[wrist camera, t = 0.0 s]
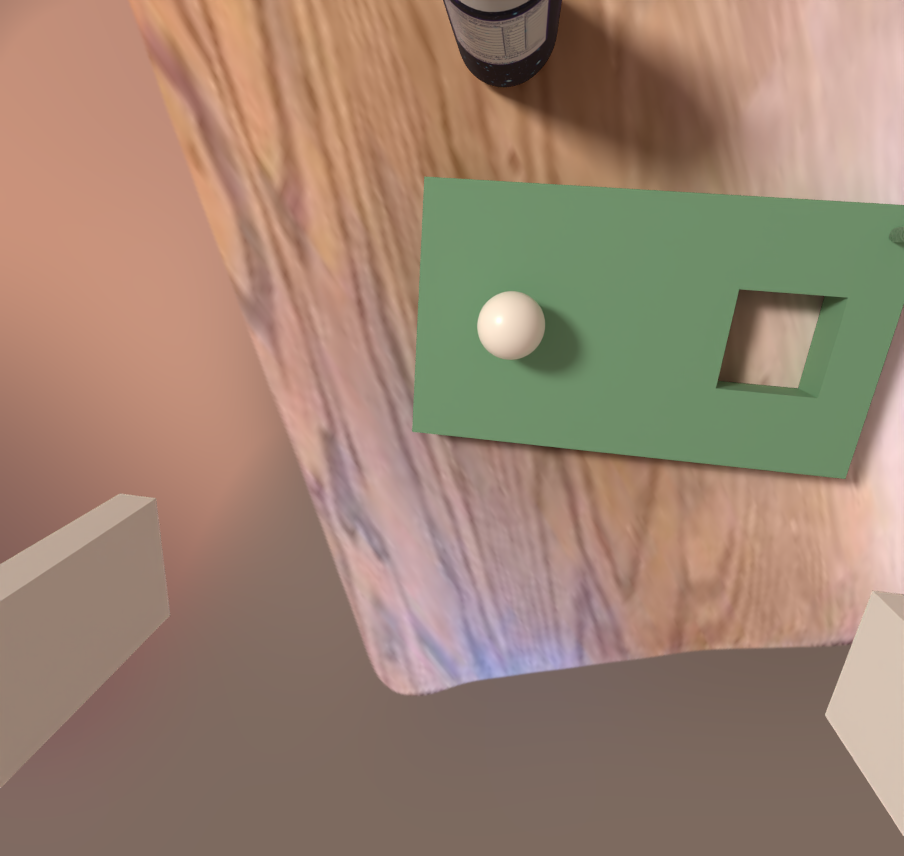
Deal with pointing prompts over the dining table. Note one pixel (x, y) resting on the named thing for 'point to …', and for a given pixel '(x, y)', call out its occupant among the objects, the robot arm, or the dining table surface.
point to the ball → (511, 325)
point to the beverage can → (504, 37)
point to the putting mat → (651, 320)
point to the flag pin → (897, 234)
